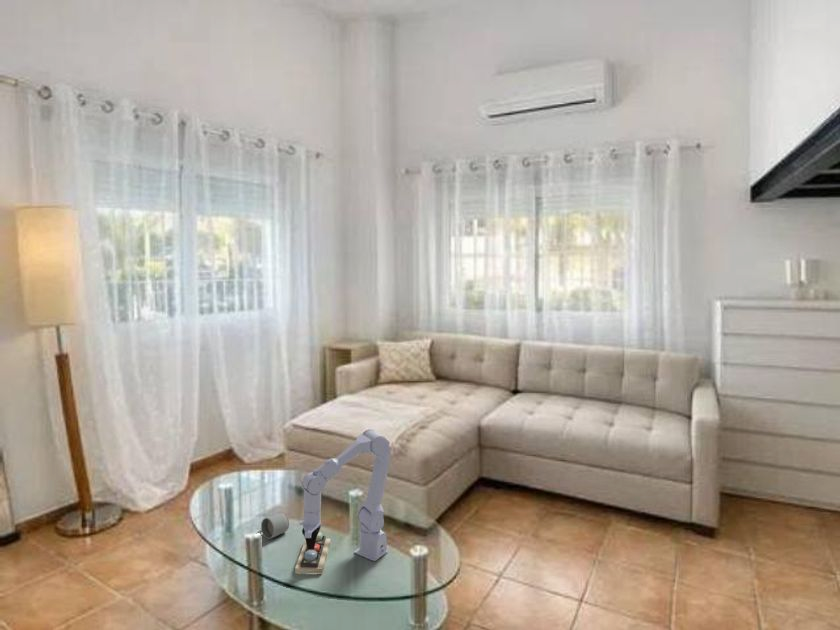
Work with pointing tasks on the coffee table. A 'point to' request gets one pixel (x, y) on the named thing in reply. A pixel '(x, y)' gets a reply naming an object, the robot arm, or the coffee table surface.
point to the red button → (316, 548)
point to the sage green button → (319, 537)
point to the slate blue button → (310, 555)
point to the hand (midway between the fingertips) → (310, 548)
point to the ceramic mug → (274, 525)
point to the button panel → (319, 563)
